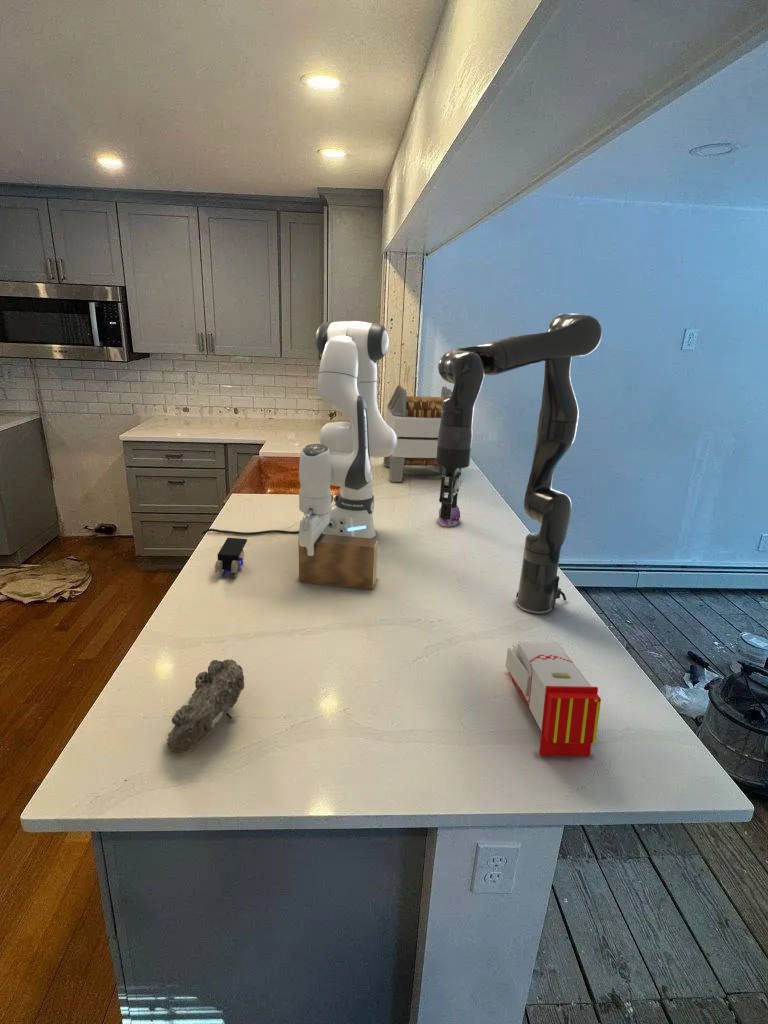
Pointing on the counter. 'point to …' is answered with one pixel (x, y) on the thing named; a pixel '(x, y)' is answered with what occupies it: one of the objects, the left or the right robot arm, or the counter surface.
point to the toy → (556, 697)
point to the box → (340, 561)
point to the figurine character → (230, 556)
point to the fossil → (206, 705)
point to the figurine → (453, 519)
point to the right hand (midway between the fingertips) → (448, 512)
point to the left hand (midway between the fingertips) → (315, 549)
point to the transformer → (414, 431)
